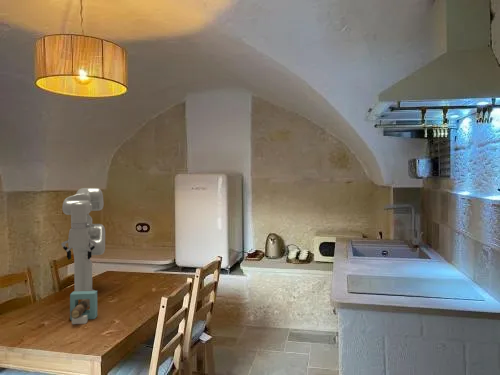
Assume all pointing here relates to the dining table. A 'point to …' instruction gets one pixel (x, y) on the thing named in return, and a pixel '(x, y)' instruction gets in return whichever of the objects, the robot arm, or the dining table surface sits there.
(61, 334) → the dining table surface
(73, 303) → the teal square frame
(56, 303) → the dining table surface
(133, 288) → the dining table surface
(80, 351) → the dining table surface
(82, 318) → the block
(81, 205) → the robot arm
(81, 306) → the dowel
